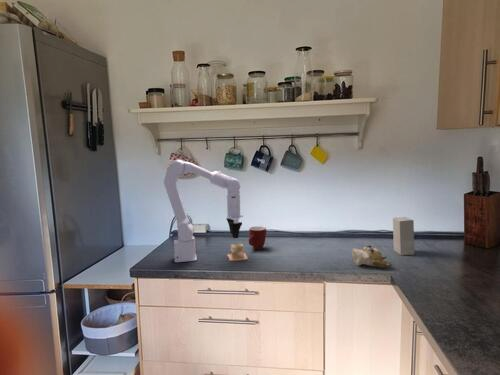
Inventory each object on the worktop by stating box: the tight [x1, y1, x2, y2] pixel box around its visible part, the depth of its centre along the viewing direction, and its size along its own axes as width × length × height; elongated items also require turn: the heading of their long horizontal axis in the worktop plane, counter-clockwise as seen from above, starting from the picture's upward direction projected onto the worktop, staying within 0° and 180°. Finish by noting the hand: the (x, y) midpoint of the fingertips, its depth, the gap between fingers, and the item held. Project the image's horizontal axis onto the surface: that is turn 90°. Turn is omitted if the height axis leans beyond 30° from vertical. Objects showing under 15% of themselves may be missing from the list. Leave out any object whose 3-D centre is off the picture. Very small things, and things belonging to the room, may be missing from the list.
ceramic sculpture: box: [351, 245, 393, 268], centre depth 147 cm, size 11×9×15 cm
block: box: [230, 243, 245, 258], centre depth 160 cm, size 5×5×5 cm
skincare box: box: [392, 216, 415, 256], centre depth 162 cm, size 8×7×16 cm
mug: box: [248, 226, 267, 251], centre depth 171 cm, size 10×8×10 cm
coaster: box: [227, 252, 249, 262], centre depth 160 cm, size 8×8×1 cm
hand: (234, 235), depth 160 cm, fingers open, 7 cm apart
